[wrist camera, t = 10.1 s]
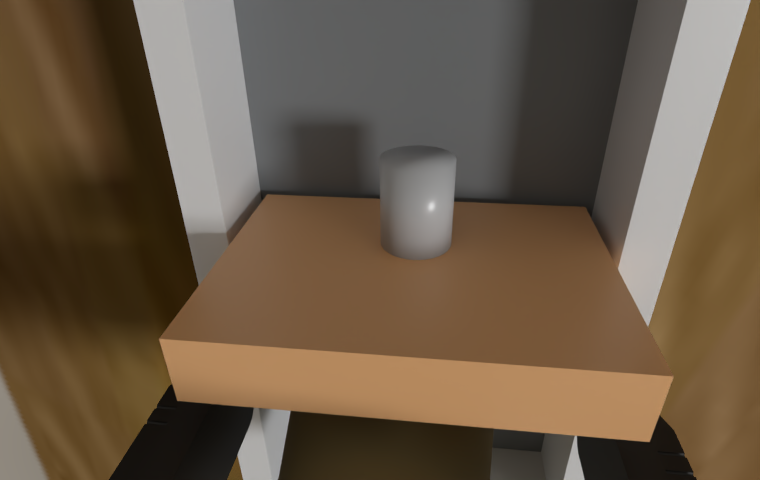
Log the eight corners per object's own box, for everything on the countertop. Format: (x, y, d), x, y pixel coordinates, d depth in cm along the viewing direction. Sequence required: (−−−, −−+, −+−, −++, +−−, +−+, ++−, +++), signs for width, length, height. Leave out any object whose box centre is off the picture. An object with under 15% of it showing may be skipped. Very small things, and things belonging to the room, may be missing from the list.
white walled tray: (170, -119, 12) (7, -157, 7) (727, -137, 10) (924, -196, 6) (266, 422, 21) (218, 548, 16) (574, 450, 19) (608, 595, 15)
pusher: (257, 122, 13) (129, 237, 8) (600, 130, 12) (714, 267, 7) (273, 241, 15) (176, 400, 10) (574, 257, 14) (649, 442, 9)
